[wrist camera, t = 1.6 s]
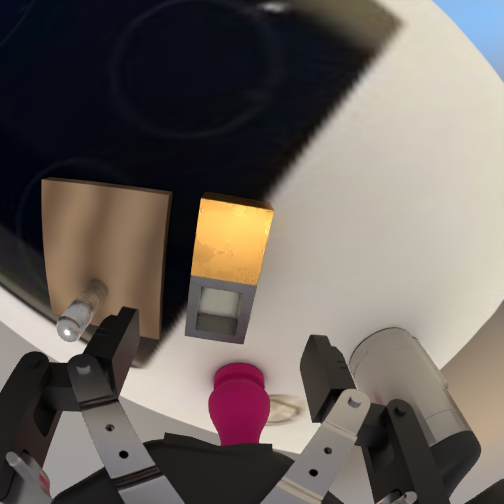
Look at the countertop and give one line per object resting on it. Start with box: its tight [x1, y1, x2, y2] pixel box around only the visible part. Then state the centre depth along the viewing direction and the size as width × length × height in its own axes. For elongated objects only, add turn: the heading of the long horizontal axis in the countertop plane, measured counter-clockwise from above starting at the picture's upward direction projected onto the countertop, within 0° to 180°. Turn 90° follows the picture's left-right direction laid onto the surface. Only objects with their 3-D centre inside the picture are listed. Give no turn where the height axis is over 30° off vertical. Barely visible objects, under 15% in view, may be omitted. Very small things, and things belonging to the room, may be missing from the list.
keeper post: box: [57, 279, 109, 342], centre depth 25 cm, size 2×2×8 cm
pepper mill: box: [208, 363, 270, 446], centre depth 26 cm, size 7×7×20 cm
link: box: [185, 192, 274, 344], centre depth 28 cm, size 6×14×3 cm, turn 169°
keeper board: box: [42, 177, 173, 340], centre depth 28 cm, size 14×16×2 cm
